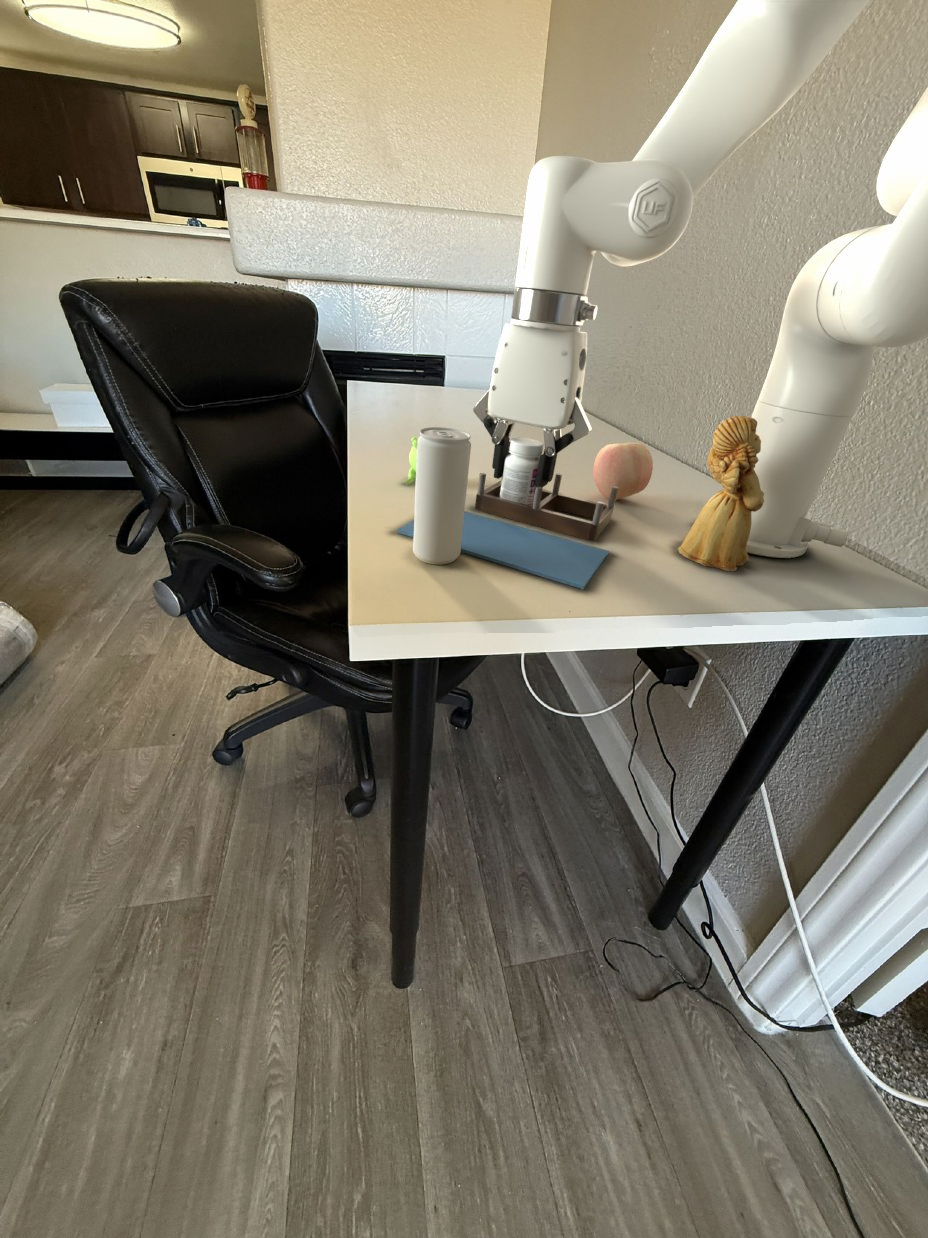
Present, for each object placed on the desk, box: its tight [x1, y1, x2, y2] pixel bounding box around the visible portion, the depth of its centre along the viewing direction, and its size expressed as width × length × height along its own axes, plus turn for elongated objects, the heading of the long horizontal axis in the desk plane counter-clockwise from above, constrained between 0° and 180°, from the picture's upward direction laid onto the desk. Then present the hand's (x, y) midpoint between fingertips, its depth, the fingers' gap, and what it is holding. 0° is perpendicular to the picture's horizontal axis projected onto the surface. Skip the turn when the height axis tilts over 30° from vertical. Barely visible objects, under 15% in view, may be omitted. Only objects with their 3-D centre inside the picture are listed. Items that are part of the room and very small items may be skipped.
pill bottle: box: [499, 437, 544, 506], centre depth 65 cm, size 5×5×8 cm
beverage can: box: [412, 426, 472, 566], centre depth 49 cm, size 5×5×12 cm
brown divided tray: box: [474, 472, 619, 542], centre depth 64 cm, size 15×8×4 cm, turn 63°
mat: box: [397, 510, 610, 590], centre depth 57 cm, size 21×10×1 cm, turn 63°
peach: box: [592, 442, 654, 501], centre depth 72 cm, size 8×8×8 cm
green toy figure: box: [405, 436, 418, 486], centre depth 72 cm, size 6×5×6 cm
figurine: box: [677, 415, 764, 572], centre depth 55 cm, size 8×8×15 cm
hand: (521, 479), depth 65 cm, fingers closed on pill bottle, 4 cm apart
